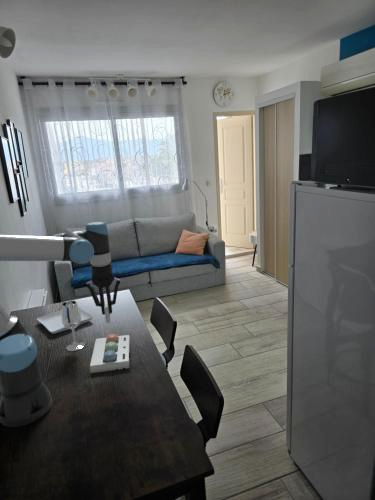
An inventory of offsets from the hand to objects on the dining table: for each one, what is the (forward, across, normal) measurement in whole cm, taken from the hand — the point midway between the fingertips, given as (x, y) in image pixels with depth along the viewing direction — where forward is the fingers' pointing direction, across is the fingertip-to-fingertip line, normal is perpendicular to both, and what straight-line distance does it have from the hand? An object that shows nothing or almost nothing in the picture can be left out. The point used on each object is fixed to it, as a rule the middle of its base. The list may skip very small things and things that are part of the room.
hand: (108, 321), depth 127 cm
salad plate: (+16, +25, -36) cm, 47 cm away
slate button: (+13, 0, +7) cm, 15 cm away
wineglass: (+15, +16, -11) cm, 25 cm away
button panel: (+15, 0, 0) cm, 15 cm away
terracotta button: (+13, 0, -7) cm, 15 cm away
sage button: (+13, 0, 0) cm, 13 cm away
